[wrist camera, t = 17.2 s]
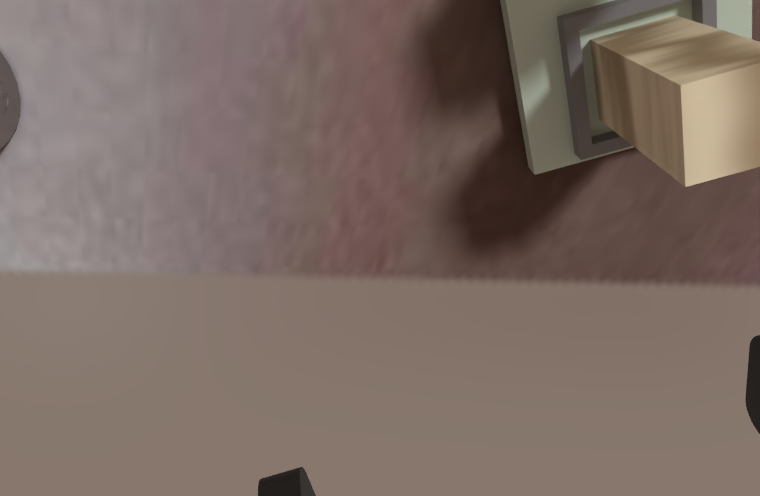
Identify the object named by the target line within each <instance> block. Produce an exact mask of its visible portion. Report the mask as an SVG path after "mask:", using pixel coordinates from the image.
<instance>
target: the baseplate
mask: <svg viewBox="0 0 760 496" xmlns="http://www.w3.org/2000/svg"><path fill="white" fill-rule="evenodd" d="M500 3H501V9H502V14H503V20H504V26H505V32H506V38H507V44H508V50H509V56H510V62H511V68H512V73H513V79H514V85H515V91H516V97H517V103H518V109H519V115H520V121H521V127H522V133H523V138H524V144H525V150H526V156H527V162H528V167H529V168H530V170H531V171H532V172H533V173H534V175H536V174H540V173H544V172H547V171H551V170H554V169H558V168H562V167H565V166H569V165H572V164H576V163H580V162H583V161H587V160H590V159H594V158H598V157H601V156H605V155H609V154H612V153H616V152H619V151H623V150H627V149H630V148H634V146H632V145H631V144H630V143H629V142H627V141H626V140H625V139H623V138H622V137H621V136H620V135H618V134H617V133H616V132H614V131H613V130H612V129H611V128H609V127H608V126H607V125H606V124H604V123H603V122H602V121H600V120H599V114H598V105H597V96H596V87H595V79H594V70H593V61H592V52H591V43H590V39H594V38H597V37H601V36H604V35H607V34H611V33H614V32H618V31H621V30H625V29H628V28H632V27H635V26H639V25H642V24H645V23H649V22H652V21H656V20H659V19H663V18H666V17H670V16H673V15H676V16H679V17H682V18H685V19H688V20H692V21H695V22H698V23H701V24H704V25H708V26H711V27H714V28H717V29H720V30H723V31H727V32H730V33H733V34H736V35H739V36H743V37H746V38H749V39H752V0H500Z"/></svg>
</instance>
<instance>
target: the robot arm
mask: <svg viewBox="0 0 760 496" xmlns="http://www.w3.org/2000/svg"><path fill="white" fill-rule="evenodd" d="M19 117H20V95H19V90H18V85H17V81H16V79H15V77H14V74H13V72H12V70H11V67H10V65H9V64H8V62H7V61H6V59H5V58H4V56H3V55H2V53H1V52H0V149H1V148H2V147H4V146H5V145H6V144H7V143H8V142H9V140H10V139H11V137H12V135H13V134H14V132H15V130H16V128H17V124H18V121H19ZM746 407H747V411H748V414H749V416H750V419H751V421H752V423H753V425H754V426H755V428H756V429H757V431H758V432H759V433H760V335H759V336H755V337H754V338H753V339H752V340H751V343H750V350H749V362H748V376H747V388H746ZM258 496H316V495H315V493H314V490H313V489H312V486H311V483H310V481H309V479H308V476H307V474H306V472H305V470H304V469H303V467H300V468H296V469H293V470H290V471H286V472H283V473H279V474H276V475H272V476H269V477H266V478H262V479H260V481H259V485H258Z"/></svg>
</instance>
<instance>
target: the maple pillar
mask: <svg viewBox="0 0 760 496" xmlns="http://www.w3.org/2000/svg"><path fill="white" fill-rule="evenodd" d="M590 43H591V52H592V61H593V70H594V79H595V87H596V96H597V105H598V114H599V120H600V121H602V122H603V123H604V124H606V125H607V126H608V127H609V128H611V129H612V130H613V131H614V132H616V133H617V134H618V135H620V136H621V137H622V138H623V139H625V140H626V141H627V142H629V143H630V144H631V145H632V146H634V147H635V148H636V149H638V150H639V151H640V152H641V153H643V154H644V155H645V156H647V157H648V158H649V159H650V160H652V161H653V162H654V163H655V164H657V165H658V166H659V167H661V168H662V169H663V170H664V171H666V172H667V173H668V174H670V175H671V176H672V177H673V178H675V179H676V180H677V181H679V182H680V183H681V184H682V185H684V186H685V187H687V186H691V185H695V184H698V183H702V182H706V181H709V180H713V179H716V178H720V177H724V176H727V175H731V174H735V173H738V172H742V171H746V170H749V169H753V168H757V167H760V42H758V41H755V40H752V39H749V38H746V37H743V36H739V35H736V34H733V33H730V32H727V31H723V30H720V29H717V28H714V27H711V26H708V25H704V24H701V23H698V22H695V21H692V20H688V19H685V18H682V17H679V16H676V15H673V16H670V17H666V18H663V19H659V20H656V21H652V22H649V23H645V24H642V25H639V26H635V27H632V28H628V29H625V30H621V31H618V32H614V33H611V34H607V35H604V36H601V37H597V38H594V39H590Z"/></svg>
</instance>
